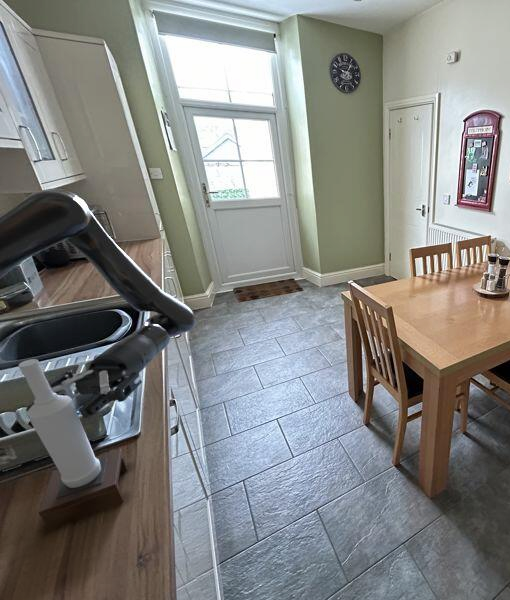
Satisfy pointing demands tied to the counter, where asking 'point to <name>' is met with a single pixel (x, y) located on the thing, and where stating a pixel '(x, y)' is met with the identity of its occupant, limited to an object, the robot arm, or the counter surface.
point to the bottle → (60, 429)
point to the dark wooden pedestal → (83, 493)
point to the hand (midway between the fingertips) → (57, 414)
